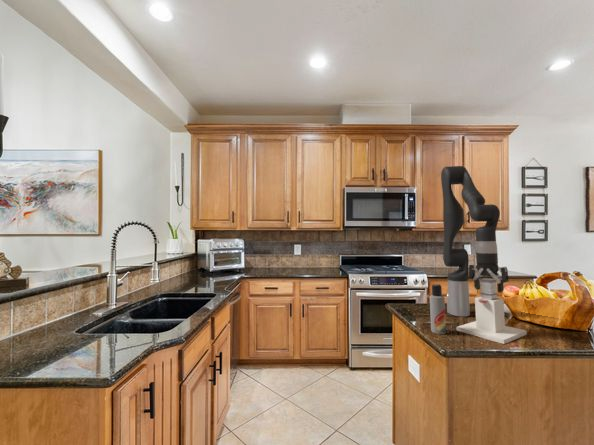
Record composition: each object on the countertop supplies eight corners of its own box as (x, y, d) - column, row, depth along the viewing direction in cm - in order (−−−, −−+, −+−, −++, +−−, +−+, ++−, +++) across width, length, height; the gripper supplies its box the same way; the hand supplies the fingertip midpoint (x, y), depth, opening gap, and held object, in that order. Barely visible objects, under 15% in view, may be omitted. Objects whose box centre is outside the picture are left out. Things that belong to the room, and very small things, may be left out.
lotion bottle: (448, 334, 117) (445, 285, 118) (433, 334, 118) (431, 285, 119) (443, 330, 123) (441, 283, 123) (429, 329, 124) (427, 283, 125)
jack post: (481, 327, 119) (479, 279, 120) (487, 325, 122) (485, 277, 122) (493, 330, 115) (491, 280, 116) (499, 328, 118) (496, 279, 118)
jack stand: (456, 330, 122) (455, 297, 122) (479, 322, 131) (478, 292, 131) (504, 344, 106) (502, 306, 107) (526, 334, 115) (524, 299, 116)
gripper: (510, 252, 115) (512, 292, 115) (474, 250, 128) (475, 287, 127) (500, 253, 112) (503, 294, 111) (464, 251, 124) (466, 289, 123)
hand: (488, 290), depth 119 cm, fingers open, 8 cm apart
